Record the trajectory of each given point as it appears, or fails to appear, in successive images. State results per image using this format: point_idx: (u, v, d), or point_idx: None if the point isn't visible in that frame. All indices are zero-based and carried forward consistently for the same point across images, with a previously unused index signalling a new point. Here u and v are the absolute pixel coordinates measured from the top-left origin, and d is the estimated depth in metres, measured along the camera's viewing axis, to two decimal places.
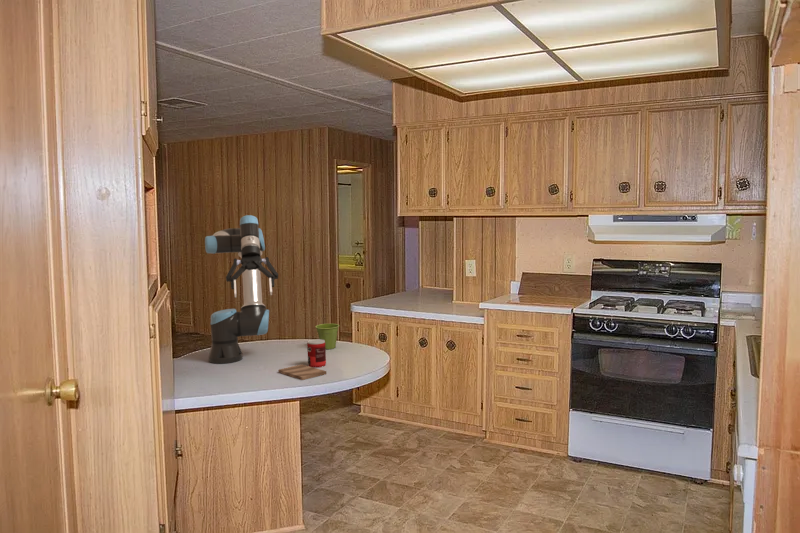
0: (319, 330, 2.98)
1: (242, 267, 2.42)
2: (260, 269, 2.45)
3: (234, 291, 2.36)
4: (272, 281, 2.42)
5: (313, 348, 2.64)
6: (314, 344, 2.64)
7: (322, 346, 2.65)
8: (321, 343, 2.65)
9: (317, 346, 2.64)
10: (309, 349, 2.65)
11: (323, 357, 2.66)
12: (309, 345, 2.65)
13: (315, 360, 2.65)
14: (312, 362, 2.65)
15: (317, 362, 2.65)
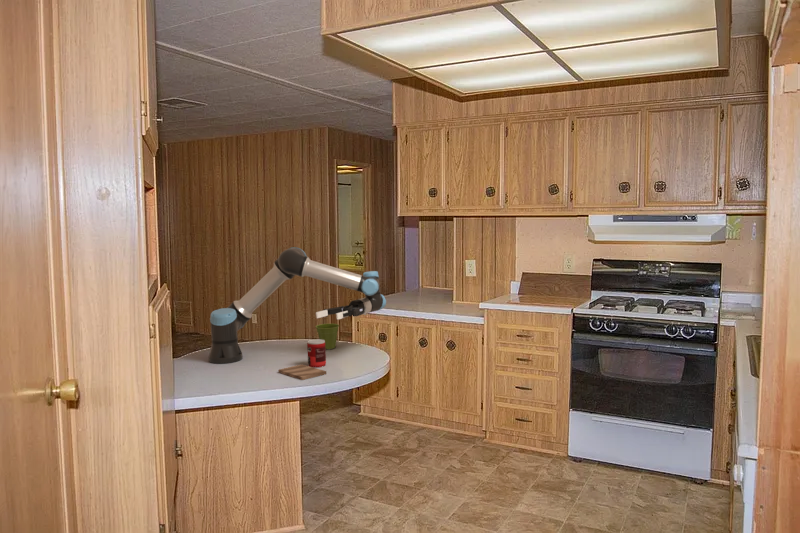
0: (319, 330, 2.98)
1: None
2: (339, 310, 2.83)
3: None
4: None
5: (313, 348, 2.64)
6: (314, 344, 2.64)
7: (322, 346, 2.65)
8: (321, 343, 2.65)
9: (317, 346, 2.64)
10: (309, 349, 2.65)
11: (323, 357, 2.66)
12: (309, 345, 2.65)
13: (315, 360, 2.65)
14: (312, 362, 2.65)
15: (317, 362, 2.65)
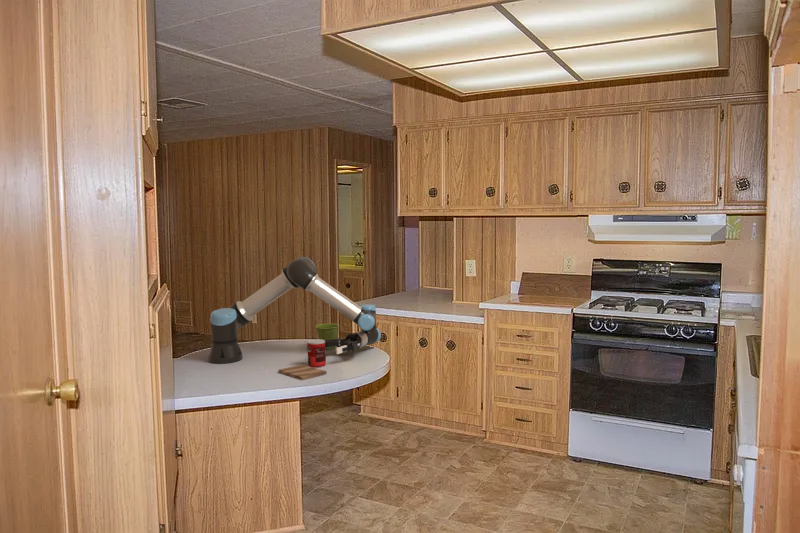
0: (319, 330, 2.98)
1: None
2: (336, 343, 2.83)
3: (339, 353, 2.69)
4: None
5: (313, 348, 2.64)
6: (314, 344, 2.64)
7: (322, 346, 2.65)
8: (321, 343, 2.65)
9: (317, 346, 2.64)
10: (309, 349, 2.65)
11: (323, 357, 2.66)
12: (309, 345, 2.65)
13: (315, 360, 2.65)
14: (312, 362, 2.65)
15: (317, 362, 2.65)
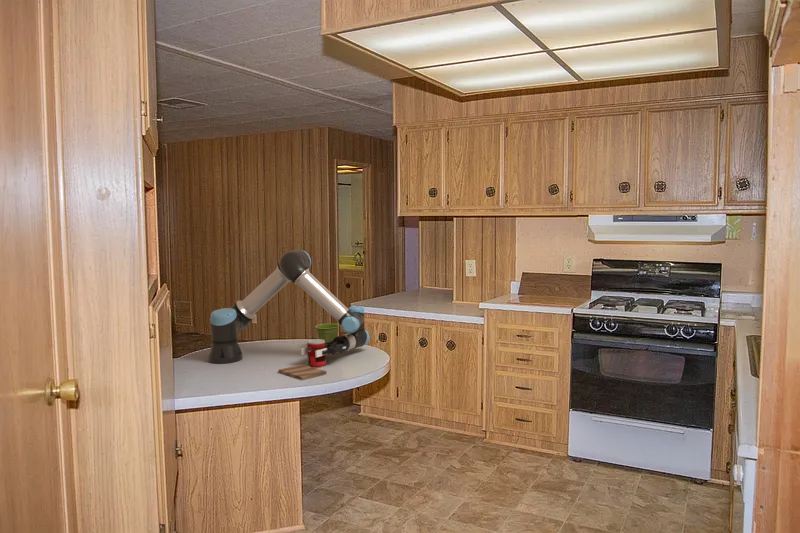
0: (319, 330, 2.98)
1: None
2: None
3: (318, 356, 2.63)
4: None
5: (313, 348, 2.64)
6: (314, 344, 2.64)
7: (322, 346, 2.65)
8: (321, 343, 2.65)
9: (317, 346, 2.64)
10: (309, 349, 2.65)
11: (323, 357, 2.66)
12: (309, 345, 2.65)
13: (315, 360, 2.65)
14: (312, 362, 2.65)
15: (317, 362, 2.65)
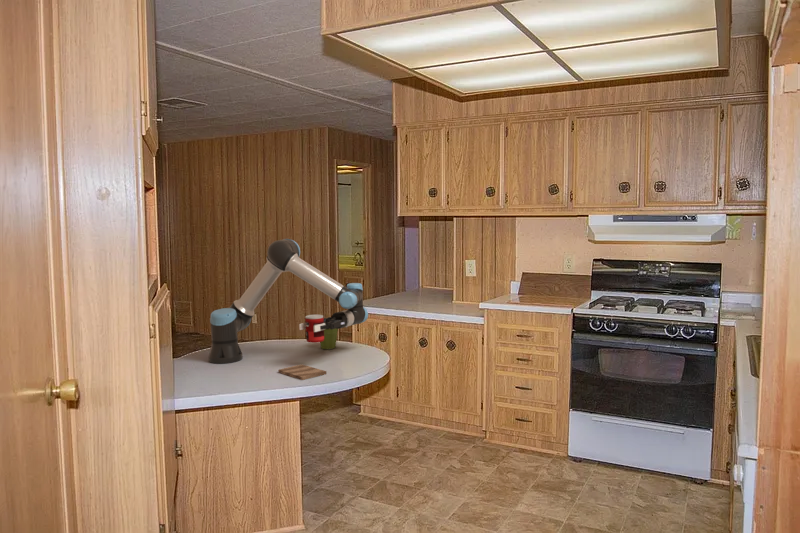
0: None
1: None
2: None
3: (316, 331, 2.60)
4: None
5: (311, 323, 2.62)
6: (312, 319, 2.62)
7: (320, 321, 2.63)
8: (319, 318, 2.63)
9: (315, 321, 2.62)
10: (307, 324, 2.63)
11: (321, 332, 2.64)
12: (307, 320, 2.63)
13: (313, 335, 2.62)
14: (311, 337, 2.63)
15: (315, 337, 2.63)
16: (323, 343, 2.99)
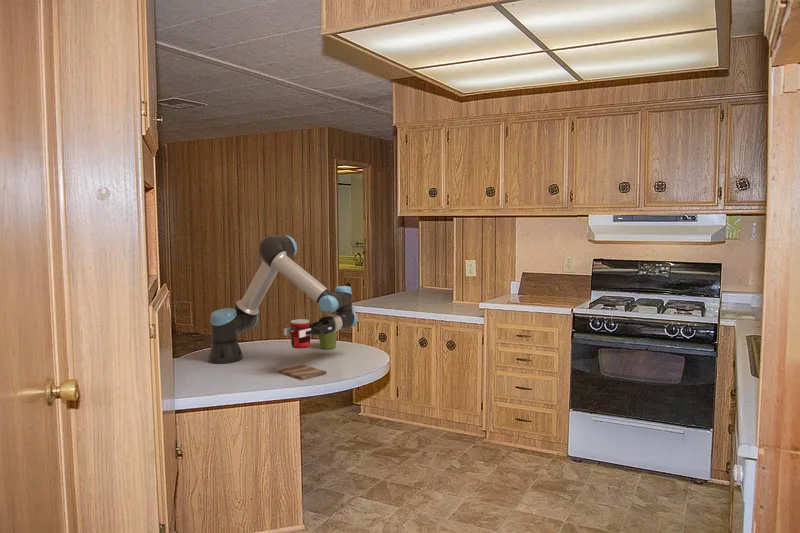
0: None
1: None
2: None
3: None
4: None
5: (296, 328, 2.51)
6: (298, 324, 2.50)
7: (306, 326, 2.52)
8: (305, 323, 2.51)
9: (300, 326, 2.51)
10: (292, 329, 2.52)
11: (307, 338, 2.53)
12: (292, 325, 2.52)
13: (298, 341, 2.51)
14: (296, 343, 2.51)
15: (300, 343, 2.51)
16: (323, 343, 2.99)
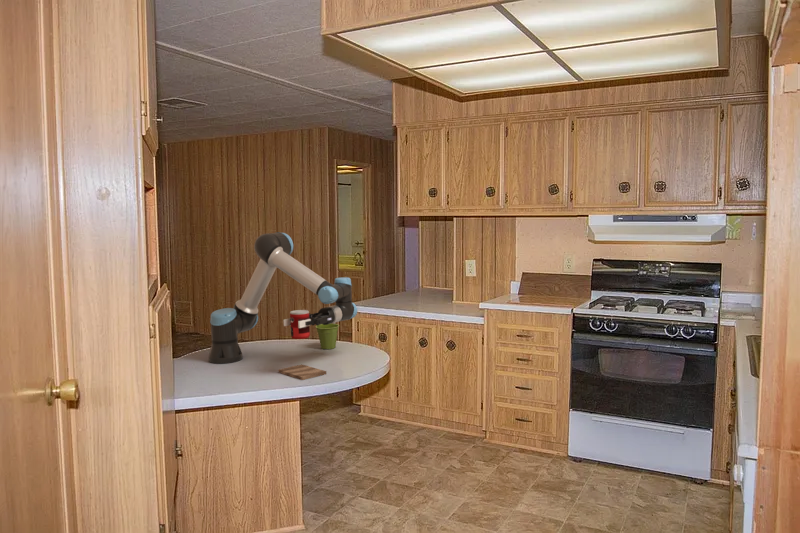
0: (319, 330, 2.98)
1: None
2: (309, 318, 2.62)
3: (301, 327, 2.49)
4: None
5: (296, 318, 2.50)
6: (297, 315, 2.50)
7: (305, 316, 2.51)
8: (304, 313, 2.51)
9: (300, 316, 2.50)
10: (292, 320, 2.51)
11: (307, 328, 2.52)
12: (292, 315, 2.51)
13: (298, 331, 2.51)
14: (295, 334, 2.51)
15: (300, 334, 2.51)
16: (323, 343, 2.99)
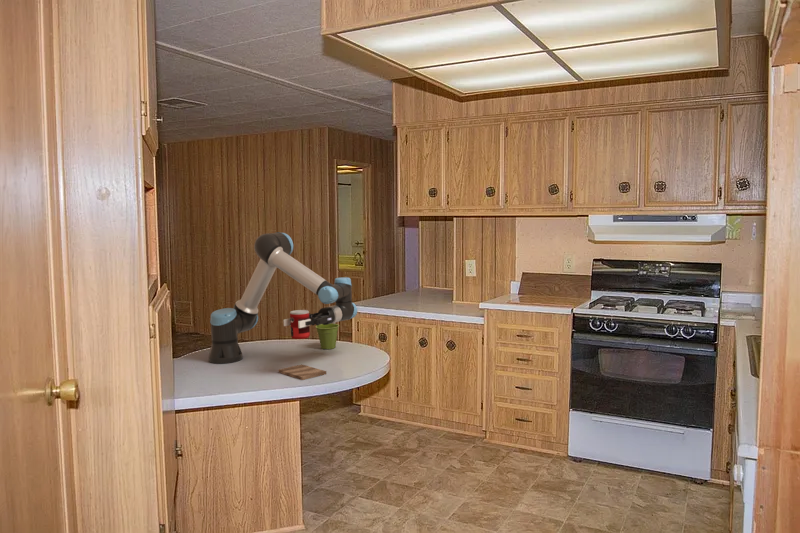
0: (319, 330, 2.98)
1: None
2: (309, 318, 2.62)
3: (301, 327, 2.49)
4: None
5: (296, 318, 2.50)
6: (297, 315, 2.50)
7: (305, 316, 2.51)
8: (304, 313, 2.51)
9: (300, 316, 2.50)
10: (292, 320, 2.51)
11: (307, 328, 2.52)
12: (292, 315, 2.51)
13: (298, 331, 2.51)
14: (295, 334, 2.51)
15: (300, 334, 2.51)
16: (323, 343, 2.99)
